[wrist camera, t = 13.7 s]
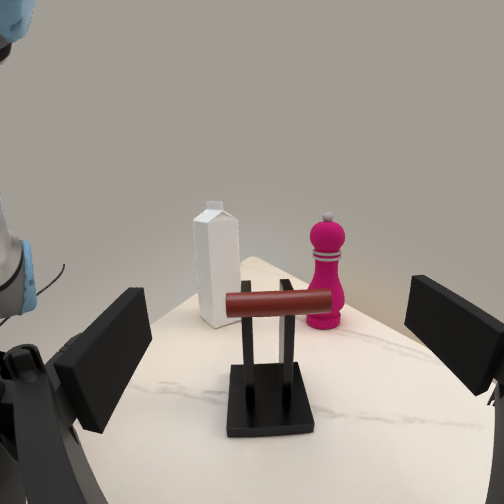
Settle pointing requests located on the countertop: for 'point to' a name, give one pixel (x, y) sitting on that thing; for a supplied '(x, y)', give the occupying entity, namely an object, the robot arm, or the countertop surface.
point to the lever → (278, 303)
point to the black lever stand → (268, 386)
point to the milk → (216, 262)
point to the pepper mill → (327, 269)
